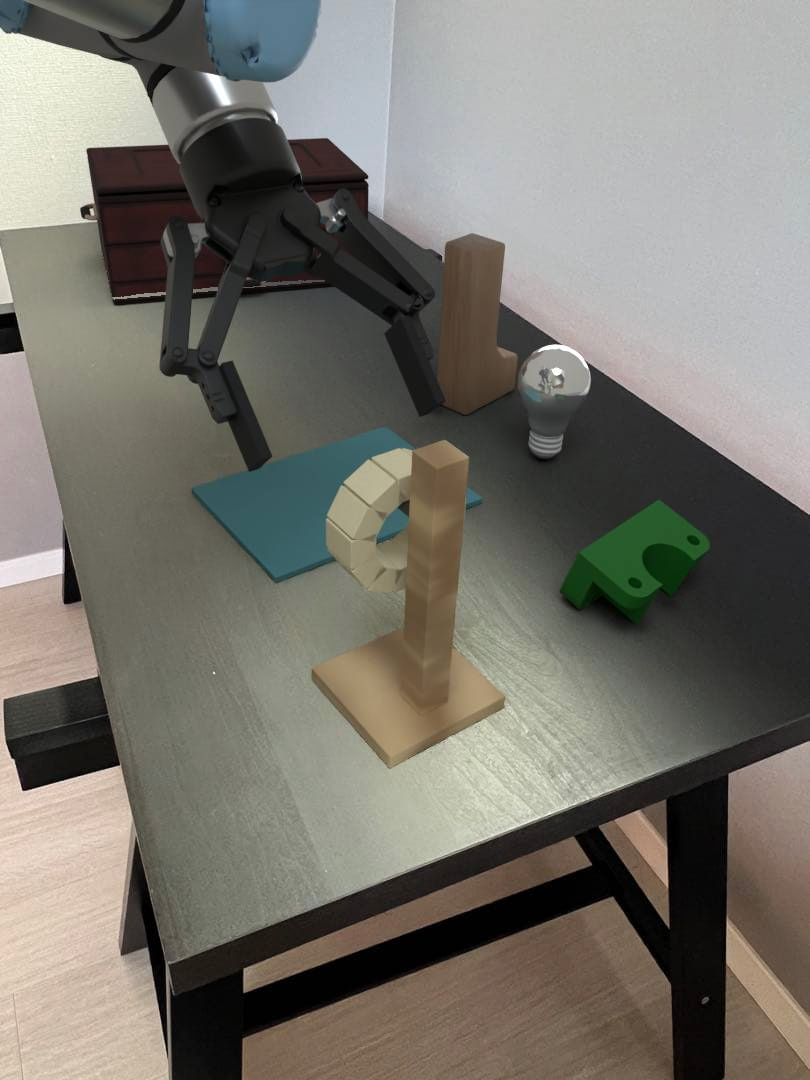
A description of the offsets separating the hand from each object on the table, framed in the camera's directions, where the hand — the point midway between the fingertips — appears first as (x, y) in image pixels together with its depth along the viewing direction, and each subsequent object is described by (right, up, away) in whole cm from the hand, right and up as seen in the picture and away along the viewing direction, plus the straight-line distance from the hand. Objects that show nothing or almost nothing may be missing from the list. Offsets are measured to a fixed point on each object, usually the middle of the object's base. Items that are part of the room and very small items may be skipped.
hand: (351, 436), depth 63 cm
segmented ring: (+3, -9, +1) cm, 10 cm away
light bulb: (+18, +1, +33) cm, 37 cm away
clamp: (+22, -12, +16) cm, 30 cm away
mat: (-3, -3, +26) cm, 26 cm away
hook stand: (+4, -18, +6) cm, 19 cm away
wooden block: (+11, +9, +43) cm, 46 cm away
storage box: (-21, +31, +72) cm, 81 cm away
